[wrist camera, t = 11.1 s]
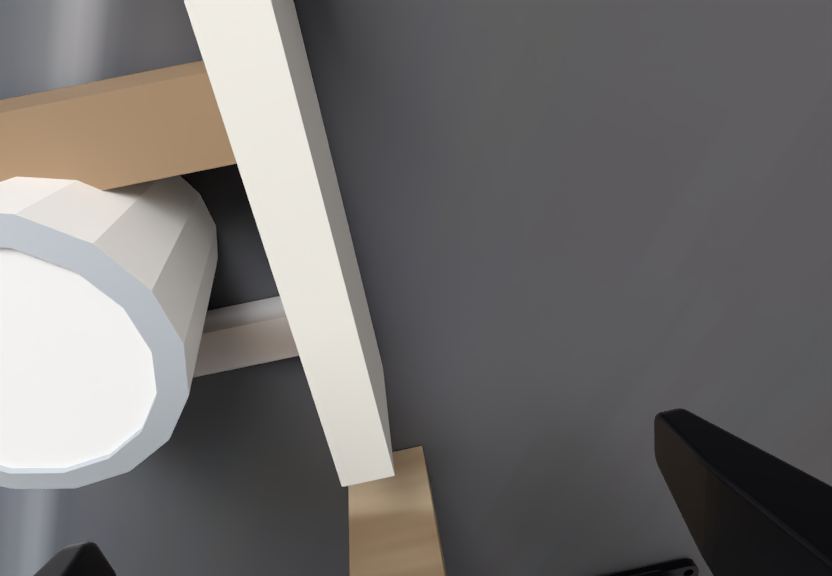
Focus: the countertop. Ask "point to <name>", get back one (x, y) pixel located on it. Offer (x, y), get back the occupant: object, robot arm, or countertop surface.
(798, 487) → the robot arm
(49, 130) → the sliding door
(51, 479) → the white grey-rimmed cylinder
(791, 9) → the countertop surface
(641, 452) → the countertop surface
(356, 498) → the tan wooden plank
